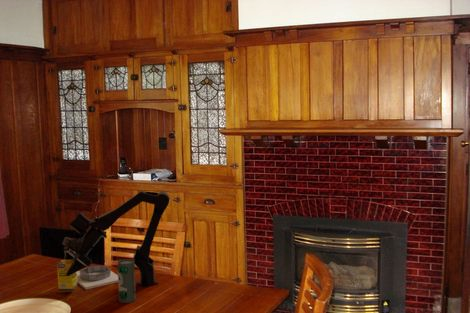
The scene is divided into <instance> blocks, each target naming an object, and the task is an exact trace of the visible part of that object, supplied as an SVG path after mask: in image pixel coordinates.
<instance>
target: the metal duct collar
mask: <svg viewBox="0 0 470 313" xmlns="http://www.w3.org/2000/svg"><path fill="white" fill-rule="evenodd" d="M79 271H80V278H81V279H82V280H85V281H98V280H102V279H106V278H108V277H110V275H111V271H112V270H111V267H109V266H106V265H92V266H89V267H88V266H86V267H85V268H83V269H81V270H79ZM93 272H104V273H100V274H88V273H93Z"/></svg>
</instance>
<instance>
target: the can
mask: <svg viewBox="0 0 470 313" xmlns="http://www.w3.org/2000/svg"><path fill="white" fill-rule="evenodd" d="M135 267H136V265H135V261H134V259H121V260H119V261H117V275H118V282H117V283H118V284H117V285H118V301H119V302H120V303H122V304H125V303H126V304H129V303H133V302H135V301H136V300H137V291H136V290H137V288H136V268H135Z"/></svg>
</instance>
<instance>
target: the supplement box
mask: <svg viewBox="0 0 470 313" xmlns="http://www.w3.org/2000/svg"><path fill="white" fill-rule="evenodd" d="M72 264H73V260H64V259H62V260H61V261H59V262H58V263H57V264H56V271H57V286H58V287H57V288H58V291H59V292H63V291H65V292H66V291H67V292H68V291H70V292H73V291H74V290H75V288H76V287H77V286H78V282H77V272H75V273H73V274H71V275H70V276H67V275H66V273H67V272H68V270H69V268H70V267H71V265H72Z"/></svg>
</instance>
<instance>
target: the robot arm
mask: <svg viewBox="0 0 470 313" xmlns="http://www.w3.org/2000/svg"><path fill="white" fill-rule="evenodd" d="M142 202H143V203H147V204H151V205H153V212H152V215H151V218H150V220H149V224H148V227H147V229H146V232H145V235H144V239H143V240H142V243H141V245H136V249H135V252H134V254H133V258H132V259H133V260H134V261H135V267H136V268H138V270H139V278H140V280H139V281H137V284H139V285H140V286H141V287H143V288H144V287H149V286H154V285H158V281H156V280H155V268H154V266H155V259H152V258H151V257H150V254H151V247H152V244H153V242H154V238H155V236H156V232H157V229H158V227H159V224H160V221H161V218H162V216H163V214H164V213H165V211H166V209H167V208H168V206H169V204H170V195H169V193H168V192H166V191H159V192H156V191H146V190H139V191H138V192H137V193H135V195H133V196H132V197H129V199H128V200H126V201H125V202H123V203H121V204H120V205H119V206H117V207H116V208H114V209H111V210H109V211H107V212H104V213H103V214H101V215H100V216H99V217H96V218H92V219H89V218H88V217H87V216H85V214H84V213H82V212H79V213H78V214H77V216H76V217H75V218H74V219H72V221H71V223H70V224H69V227H70V228H72V229H73V230H75V231H76V232H77V233H78V234H84V235H83V237H79V238H78V239H77V238H74V237H72V238H71V237H67V236H65V237H64V239H63V241H62V243H61V244H62V246H64V247H63V253H64V257H63V260H73V264H72V265H71V267H70V268H69V270H68V272H67V273H66V275H67V276H70V275H71V274H73V273H75V272H77V271H81V270H82V269H84V268H87V267H91V265H92V263H93V260H92V259H91V257H89V255H88V254H89V253H90V252H91V250H93V251H94V250H95V245H96V244H97V243H98V242H99V241H100V239H101V238H102V237H103V238H104V239H107V238H108V237H107V236H108V235H107V230H109V229H110V228H111V227H112V226H113V225H114V224H115V222H117V220H119V219H120V218H121V217H123V215H125V214H127V213H128V212H129V211H131V210H132V209H134V208H135V207H136V206H138V205H139V204H141V203H142Z"/></svg>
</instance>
